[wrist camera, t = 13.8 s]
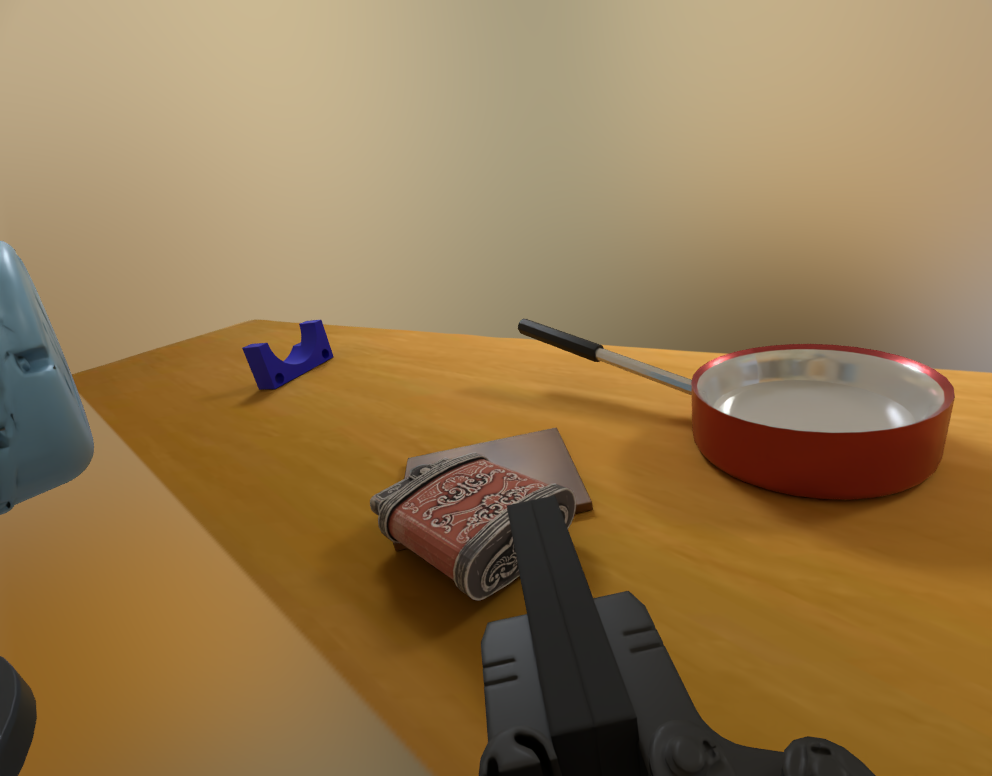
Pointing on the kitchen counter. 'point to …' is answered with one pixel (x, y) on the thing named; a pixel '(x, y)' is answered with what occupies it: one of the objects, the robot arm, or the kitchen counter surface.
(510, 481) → the lighter
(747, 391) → the frying pan
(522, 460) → the plate
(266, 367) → the blue notched block
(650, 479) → the kitchen counter surface
